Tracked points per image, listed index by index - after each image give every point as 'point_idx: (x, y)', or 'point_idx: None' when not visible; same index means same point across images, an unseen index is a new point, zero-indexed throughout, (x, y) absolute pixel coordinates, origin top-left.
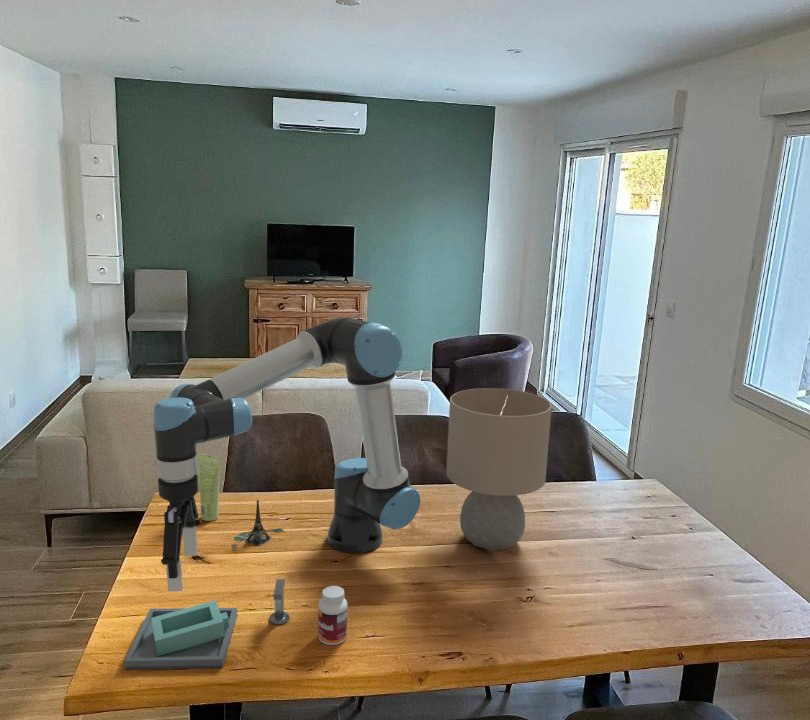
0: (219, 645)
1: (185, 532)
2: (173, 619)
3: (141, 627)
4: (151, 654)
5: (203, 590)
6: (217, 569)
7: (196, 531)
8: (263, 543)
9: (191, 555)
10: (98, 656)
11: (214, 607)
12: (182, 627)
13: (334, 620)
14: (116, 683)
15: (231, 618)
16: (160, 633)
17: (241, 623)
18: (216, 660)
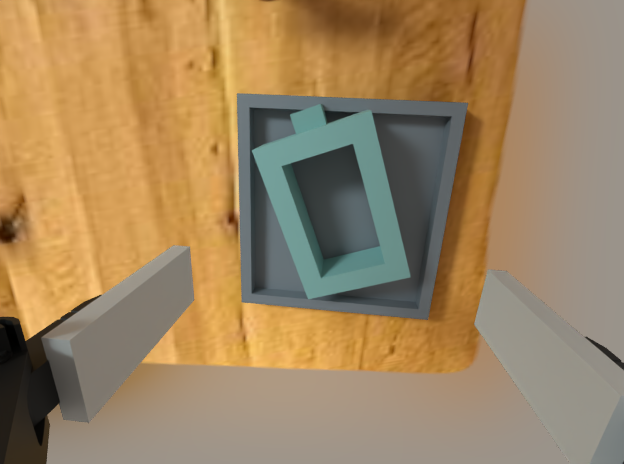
0: (377, 124)
1: (109, 379)
2: (313, 249)
3: (312, 307)
4: None
5: (140, 197)
6: (46, 176)
7: (78, 312)
8: None
9: (190, 271)
10: (371, 357)
11: (289, 149)
12: (310, 222)
13: None
14: (462, 314)
15: (287, 103)
16: (382, 270)
17: (277, 80)
18: (463, 119)
